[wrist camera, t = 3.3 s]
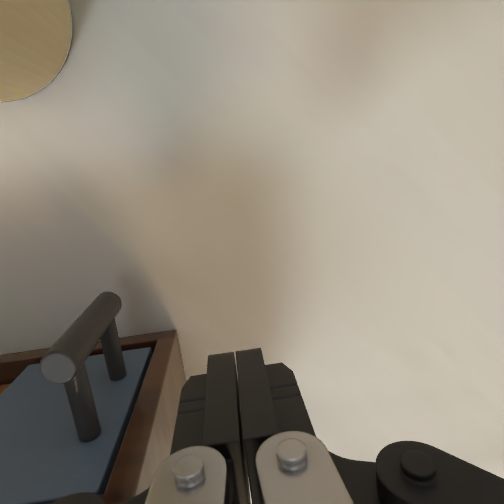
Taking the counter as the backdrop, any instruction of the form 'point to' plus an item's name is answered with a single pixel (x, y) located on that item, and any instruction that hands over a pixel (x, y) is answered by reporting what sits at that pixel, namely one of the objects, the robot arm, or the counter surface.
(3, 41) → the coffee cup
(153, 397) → the cupboard
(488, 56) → the counter surface
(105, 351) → the sliding lid with handle
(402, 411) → the counter surface
